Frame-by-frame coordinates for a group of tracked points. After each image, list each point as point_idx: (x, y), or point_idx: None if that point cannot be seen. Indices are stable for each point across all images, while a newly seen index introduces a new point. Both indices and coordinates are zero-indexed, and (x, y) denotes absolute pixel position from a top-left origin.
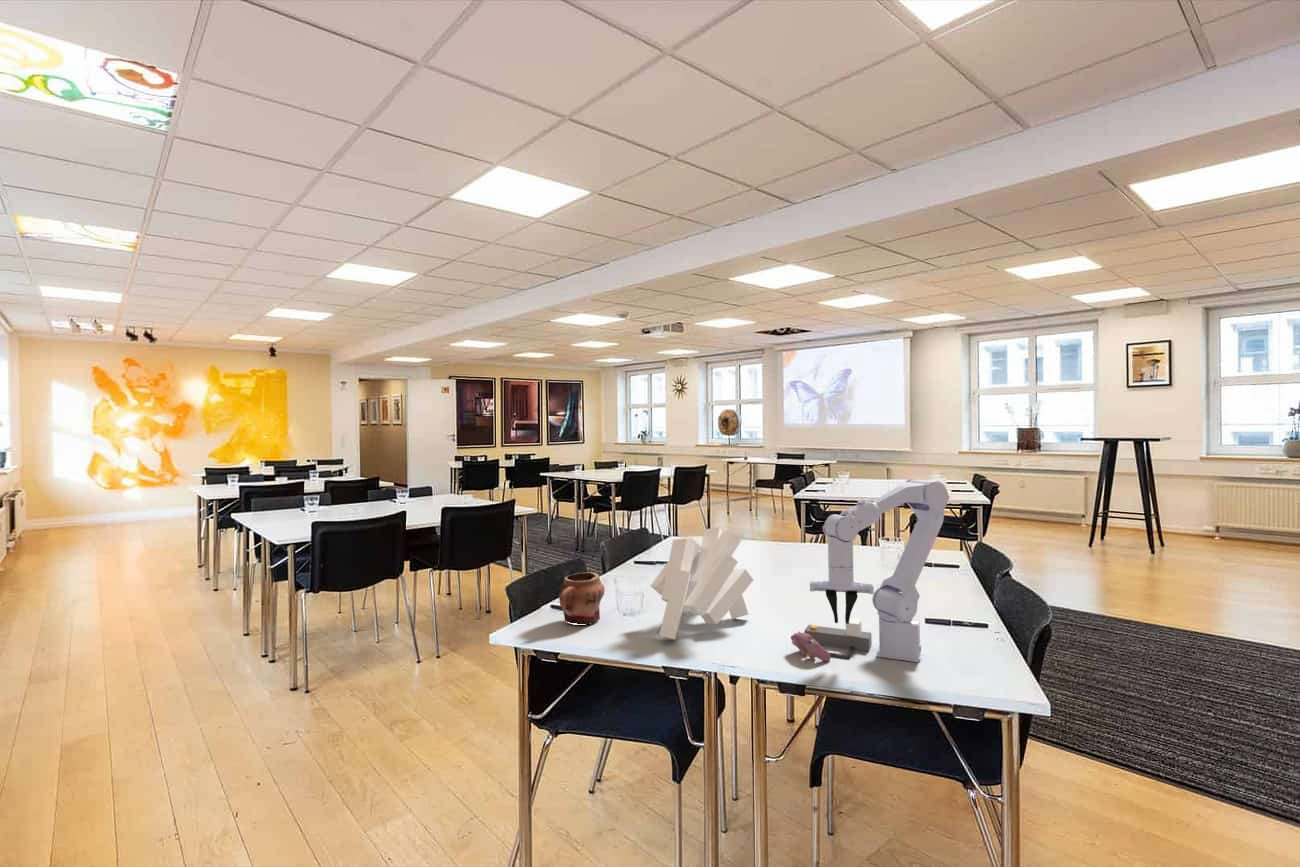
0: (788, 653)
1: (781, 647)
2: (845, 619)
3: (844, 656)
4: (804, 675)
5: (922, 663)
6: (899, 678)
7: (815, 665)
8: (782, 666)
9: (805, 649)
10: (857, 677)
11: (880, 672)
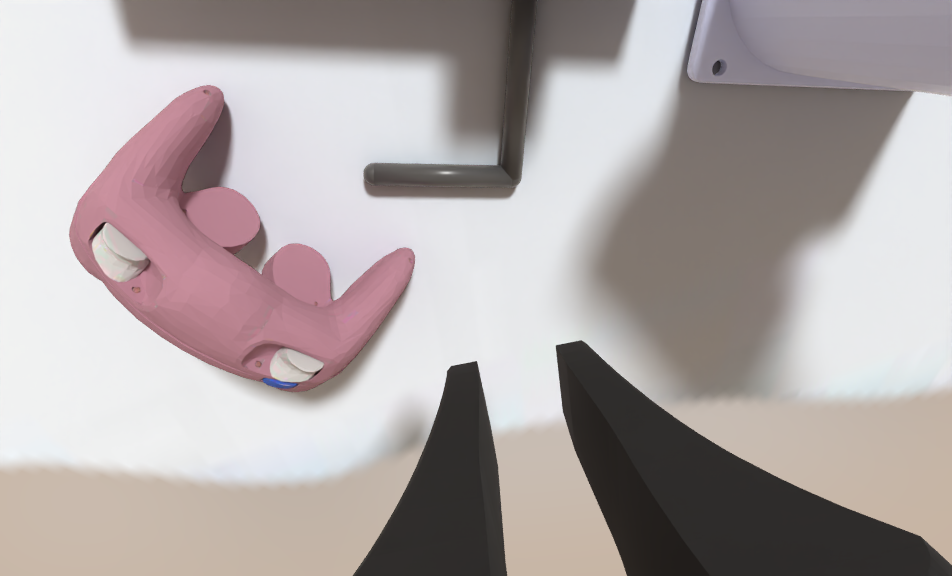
0: None
1: (18, 127)
2: (564, 383)
3: (488, 186)
4: (342, 455)
5: None
6: (743, 336)
7: None
8: (206, 409)
9: (239, 248)
10: None
11: (671, 303)
